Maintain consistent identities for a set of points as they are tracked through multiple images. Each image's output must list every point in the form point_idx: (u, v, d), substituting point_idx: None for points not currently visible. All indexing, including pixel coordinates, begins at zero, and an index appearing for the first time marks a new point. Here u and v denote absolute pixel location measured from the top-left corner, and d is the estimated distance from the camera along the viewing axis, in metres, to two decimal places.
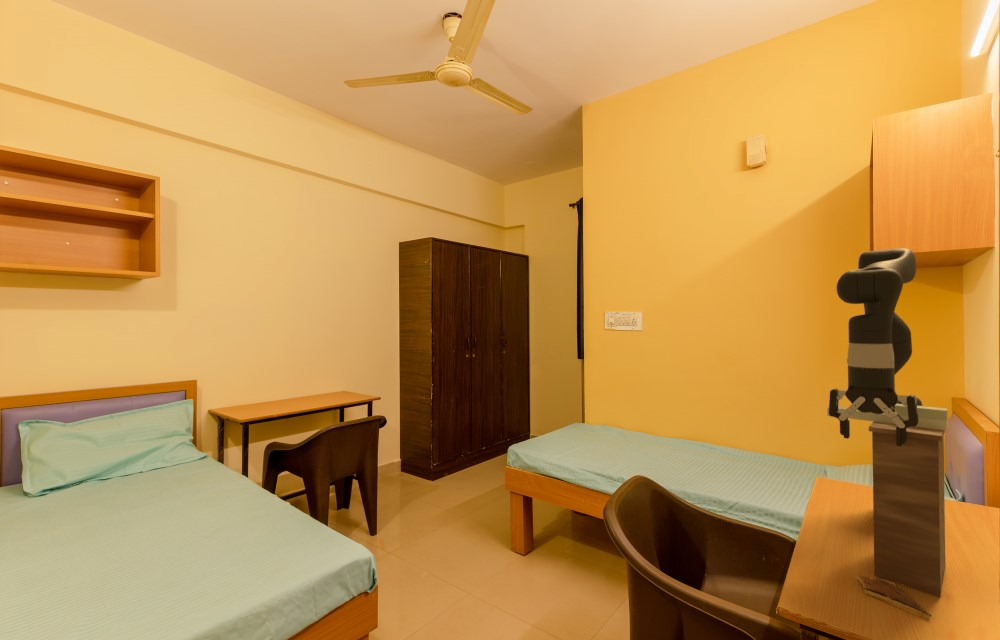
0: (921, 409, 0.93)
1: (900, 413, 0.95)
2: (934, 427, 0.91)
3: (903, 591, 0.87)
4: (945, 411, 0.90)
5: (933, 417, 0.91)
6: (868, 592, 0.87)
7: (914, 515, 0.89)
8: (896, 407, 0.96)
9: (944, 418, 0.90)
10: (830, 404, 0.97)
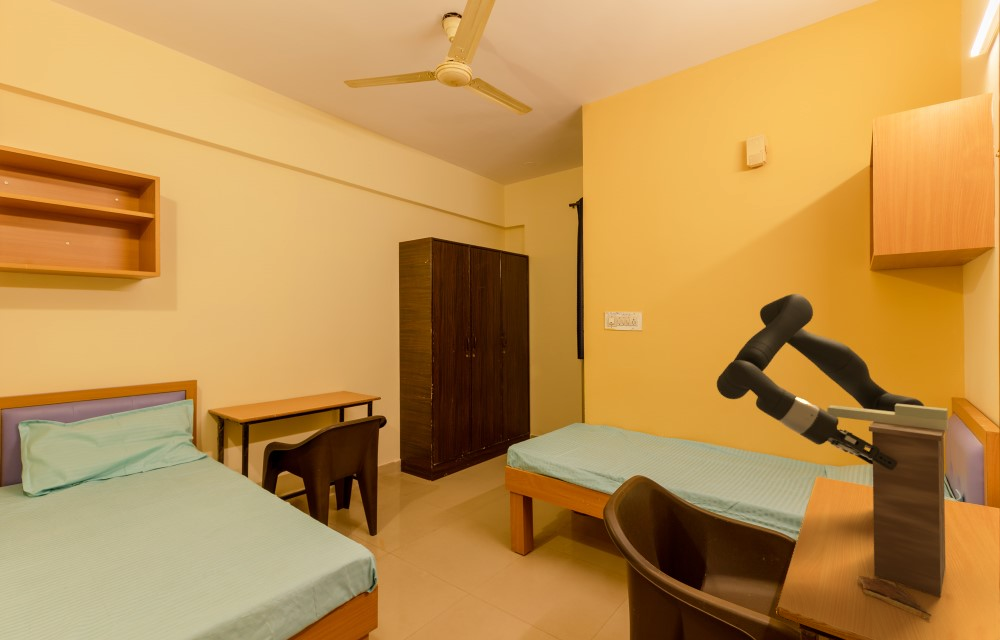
0: (921, 409, 0.93)
1: (900, 413, 0.95)
2: (934, 427, 0.91)
3: (903, 591, 0.87)
4: (945, 411, 0.90)
5: (933, 417, 0.91)
6: (868, 592, 0.87)
7: (914, 515, 0.89)
8: (896, 407, 0.96)
9: (944, 418, 0.90)
10: None
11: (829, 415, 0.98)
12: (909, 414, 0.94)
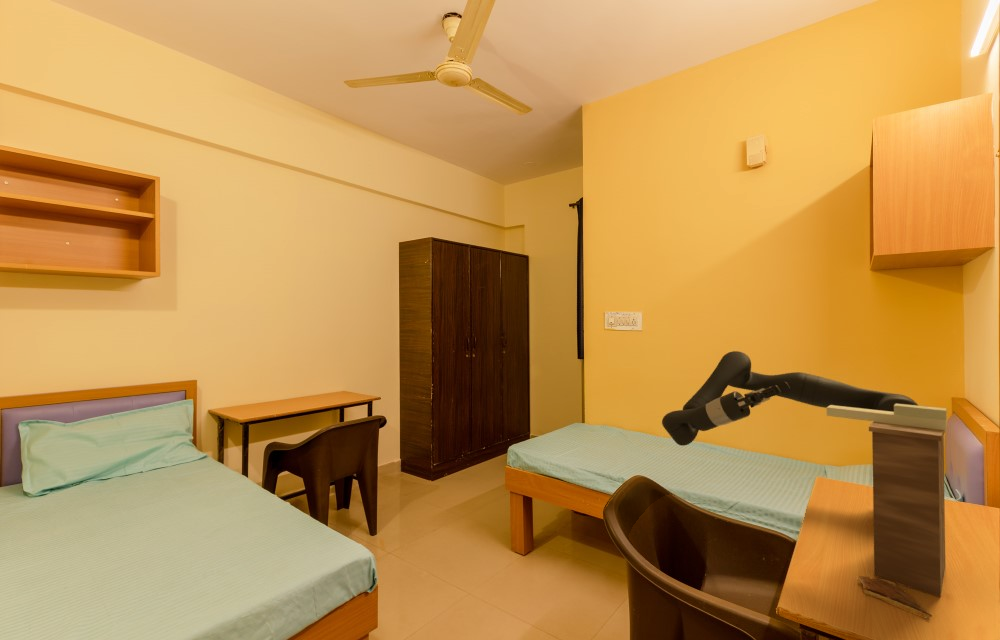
0: (920, 409, 0.93)
1: (899, 413, 0.95)
2: (933, 427, 0.91)
3: (903, 591, 0.87)
4: (944, 411, 0.90)
5: (932, 417, 0.92)
6: (868, 592, 0.87)
7: (914, 515, 0.89)
8: (895, 407, 0.96)
9: (943, 418, 0.90)
10: None
11: (727, 397, 1.24)
12: (908, 414, 0.94)
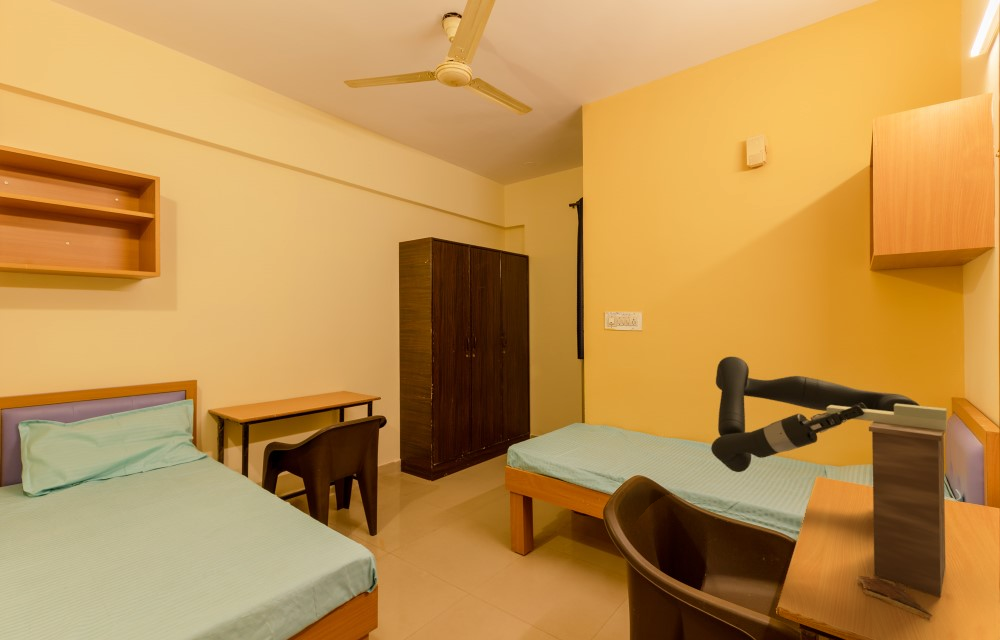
0: (920, 409, 0.93)
1: (899, 413, 0.95)
2: (933, 427, 0.91)
3: (903, 591, 0.87)
4: (944, 411, 0.90)
5: (932, 417, 0.92)
6: (869, 592, 0.87)
7: (914, 515, 0.89)
8: (895, 407, 0.96)
9: (943, 418, 0.90)
10: None
11: (790, 420, 1.10)
12: (908, 414, 0.94)
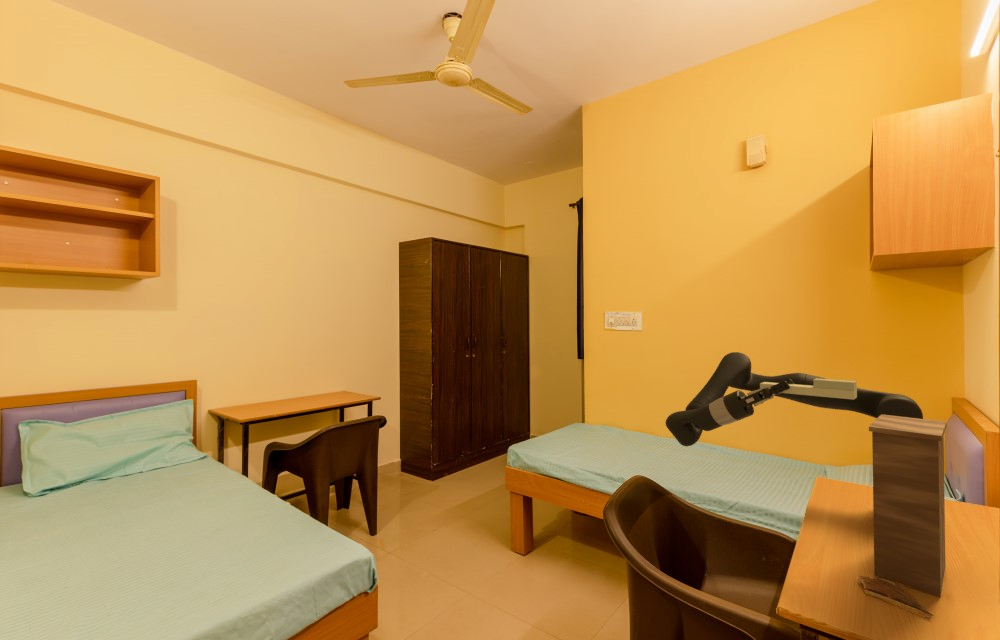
0: (834, 382, 1.07)
1: (818, 386, 1.09)
2: (844, 397, 1.05)
3: (903, 590, 0.87)
4: (852, 383, 1.04)
5: (843, 388, 1.06)
6: (869, 592, 0.87)
7: (914, 515, 0.89)
8: (814, 381, 1.10)
9: (852, 389, 1.04)
10: None
11: (730, 396, 1.24)
12: (825, 386, 1.08)
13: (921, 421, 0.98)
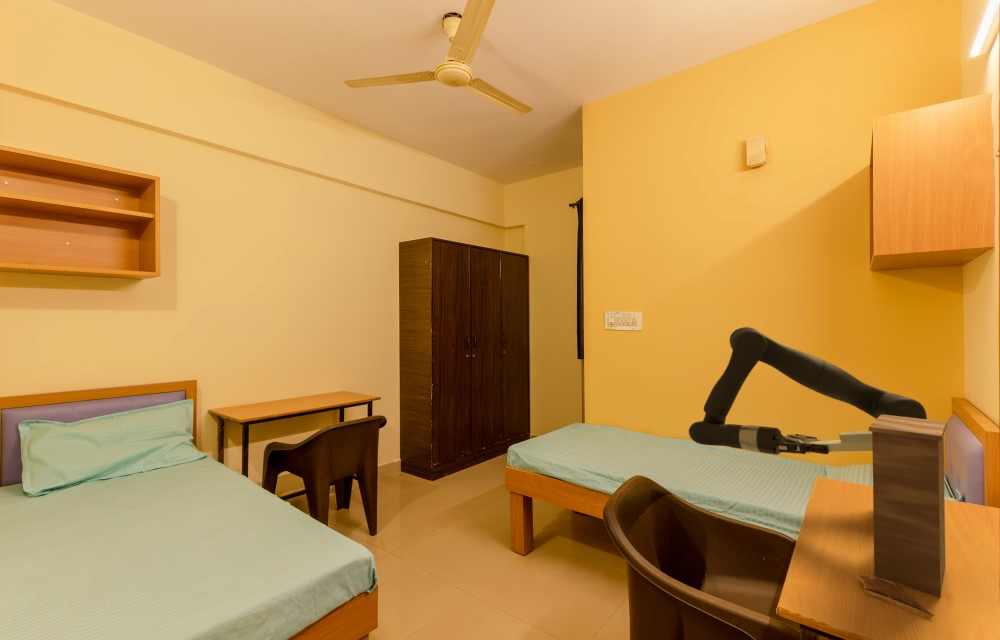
0: (858, 435, 1.08)
1: (845, 441, 1.10)
2: (872, 449, 1.05)
3: (903, 590, 0.87)
4: None
5: (869, 440, 1.06)
6: (869, 592, 0.87)
7: (914, 515, 0.89)
8: (840, 436, 1.11)
9: None
10: None
11: (766, 431, 1.25)
12: (851, 441, 1.09)
13: (921, 421, 0.98)
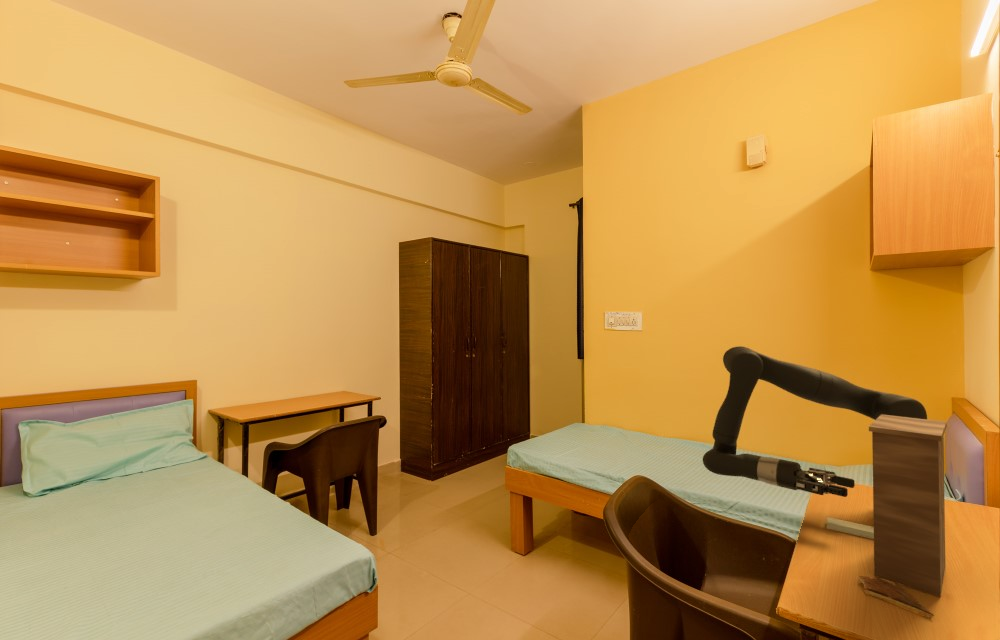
0: None
1: None
2: None
3: (903, 590, 0.87)
4: None
5: None
6: (870, 592, 0.87)
7: (914, 515, 0.89)
8: None
9: None
10: None
11: (786, 466, 1.21)
12: None
13: (921, 421, 0.98)
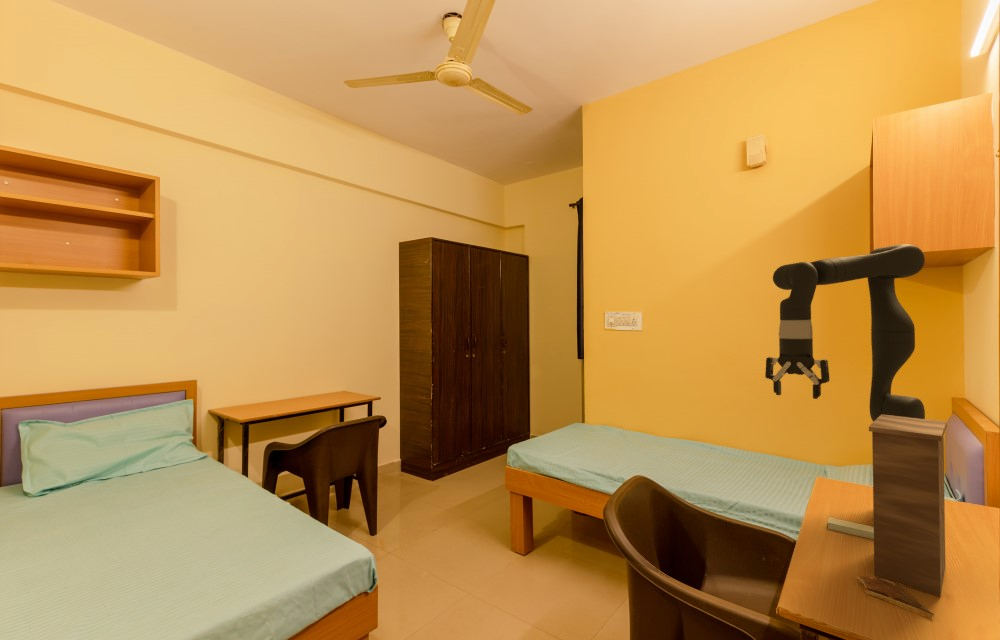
0: None
1: None
2: None
3: (903, 590, 0.87)
4: None
5: None
6: (870, 592, 0.87)
7: (914, 515, 0.89)
8: None
9: None
10: (766, 369, 1.23)
11: None
12: None
13: (921, 421, 0.98)
